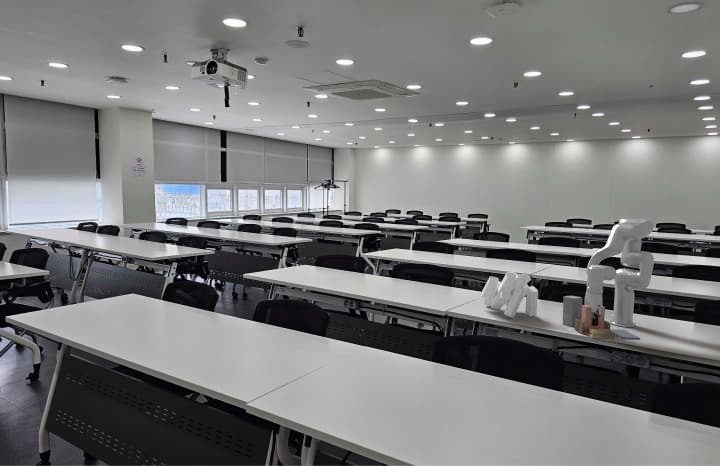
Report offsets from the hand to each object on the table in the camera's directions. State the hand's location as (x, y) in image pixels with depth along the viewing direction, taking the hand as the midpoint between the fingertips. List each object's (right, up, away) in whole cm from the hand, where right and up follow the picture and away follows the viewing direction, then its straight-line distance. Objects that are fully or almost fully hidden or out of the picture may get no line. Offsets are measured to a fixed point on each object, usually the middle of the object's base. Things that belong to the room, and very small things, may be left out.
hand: (592, 324), depth 235 cm
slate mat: (+14, -5, -3) cm, 15 cm away
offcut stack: (0, -5, -8) cm, 9 cm away
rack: (0, -4, 0) cm, 4 cm away
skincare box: (-4, -3, +14) cm, 15 cm away
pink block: (0, -4, 0) cm, 4 cm away
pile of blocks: (-33, -1, +36) cm, 49 cm away
